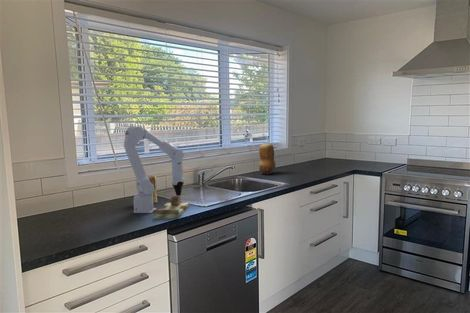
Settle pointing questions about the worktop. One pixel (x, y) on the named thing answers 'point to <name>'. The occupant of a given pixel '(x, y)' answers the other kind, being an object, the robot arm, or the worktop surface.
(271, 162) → the butternut squash
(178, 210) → the trap runway
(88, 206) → the worktop surface
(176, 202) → the walnut block
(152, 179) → the candy box
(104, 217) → the worktop surface
